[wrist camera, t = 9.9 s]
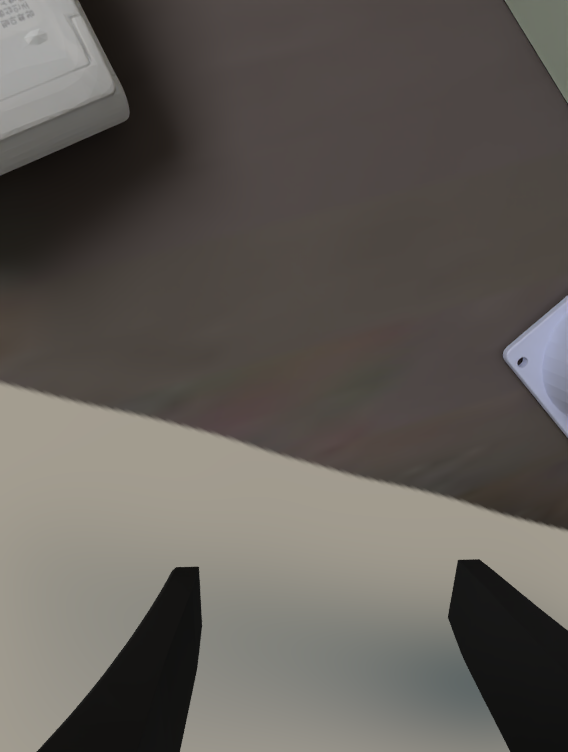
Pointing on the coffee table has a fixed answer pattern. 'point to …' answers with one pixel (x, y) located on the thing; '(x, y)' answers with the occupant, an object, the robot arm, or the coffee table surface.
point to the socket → (546, 34)
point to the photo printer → (52, 81)
